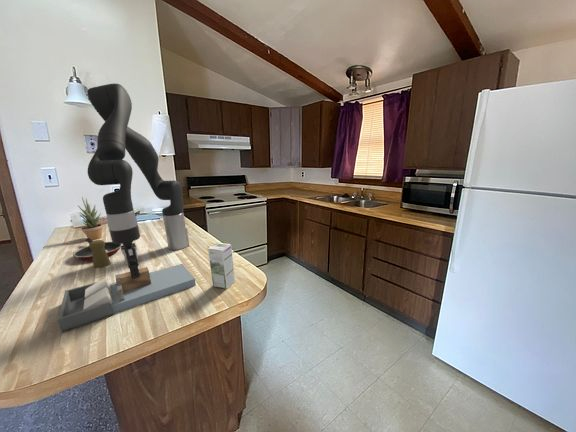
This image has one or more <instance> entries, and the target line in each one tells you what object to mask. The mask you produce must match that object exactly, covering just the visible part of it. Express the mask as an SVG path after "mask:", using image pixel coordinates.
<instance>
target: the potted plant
mask: <svg viewBox="0 0 576 432" xmlns="http://www.w3.org/2000/svg"><path fill="white" fill-rule="evenodd" d="M81 199H82V202H83V205H84V208H85V209H83V208H82V207H81V206H80V205H77V207H78V208H79V210H80V211H79V217H81V218H82V220H81V221H82V223H83V225H85V226H83V227H81V231H82V233H84V234H85V236H86V239H87V238H90V239H92V240H93V241H96V240H100V239H101V238H102V237H103V236H102V234H103V228H104V226H103V224H102V223H98V222H99V221H100V220H101V218H100V217H101V215H102V214H101V212H100V213H99V214H98V210H96V205H94V206H93V209H91V205H90V204H89V202H88V199H87V198H85V200H84V198H83V196H81ZM81 211H82V212H81ZM97 214H98V216H97Z"/></svg>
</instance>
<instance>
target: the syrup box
mask: <svg viewBox="0 0 576 432" xmlns="http://www.w3.org/2000/svg"><path fill="white" fill-rule="evenodd" d="M232 248H233V247H232V243H231V244H230V243H225V242H224V243H222V242H217V243H214V244H212V245H211V246H210V247H209V248H207V251H208V257H209V258H208V259H209V265H210V273H211V280H212V281H211V282H212V287H214V288H220V289H224V290H225V289H228V288H230V287H231V286H232V285H233V284H234V283H235V282H236V278H235V277H236V276H235V269H234V268H235V267H234V257H233V250H232Z"/></svg>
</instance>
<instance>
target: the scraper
mask: <svg viewBox="0 0 576 432" xmlns="http://www.w3.org/2000/svg"><path fill="white" fill-rule="evenodd" d="M138 269H139V274H140V277H138V278H135V279H132V277H131V273H130V271H127V272H123V273H119V274H115V275H114V276H115V281H116V284H117V291H118V296H119V300H120V301H123V300H125V299H124V294H123V293H124V292H127V291H130V290H134V289H137V288H140V287H143V286H147V285H150V284H151V279H150V274H149V273H150V270H149V268H148V267H147V266H146V267H142V268H138Z"/></svg>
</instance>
